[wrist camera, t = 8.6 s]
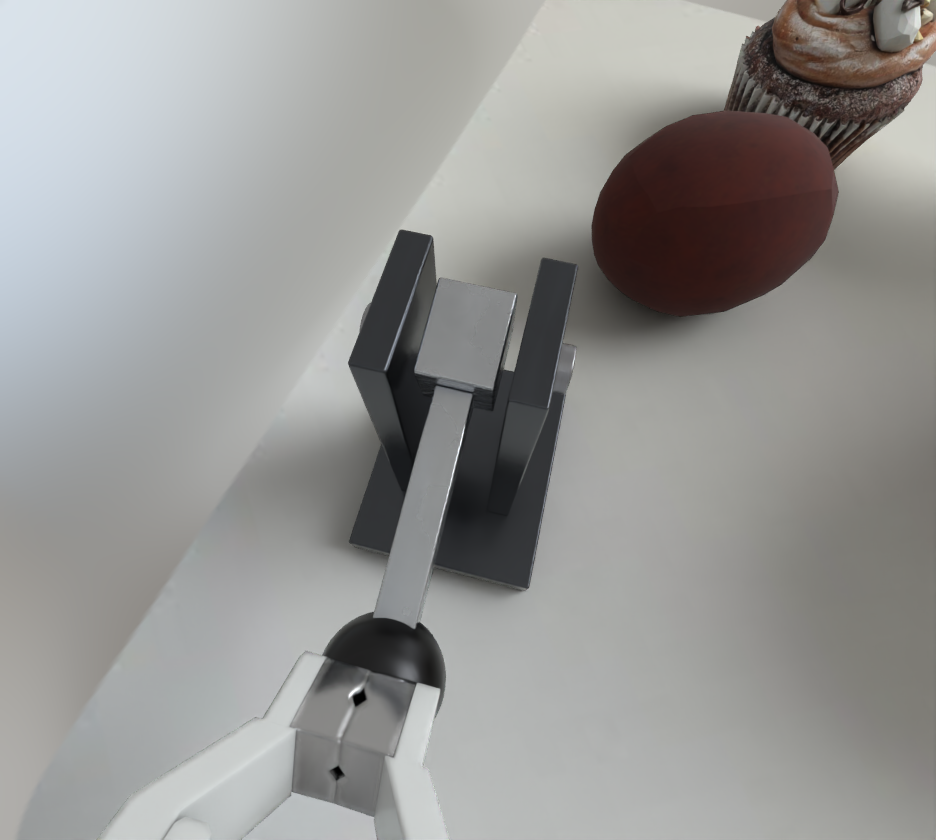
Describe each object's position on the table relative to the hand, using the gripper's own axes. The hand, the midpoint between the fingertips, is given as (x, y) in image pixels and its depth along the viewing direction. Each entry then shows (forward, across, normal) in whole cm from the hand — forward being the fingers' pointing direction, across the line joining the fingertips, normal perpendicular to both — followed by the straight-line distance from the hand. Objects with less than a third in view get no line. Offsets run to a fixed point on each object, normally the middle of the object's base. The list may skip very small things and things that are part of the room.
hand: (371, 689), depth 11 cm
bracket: (+14, 0, -2) cm, 15 cm away
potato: (+24, +9, +8) cm, 27 cm away
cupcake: (+34, +14, +17) cm, 40 cm away
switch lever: (+5, 0, +1) cm, 5 cm away
